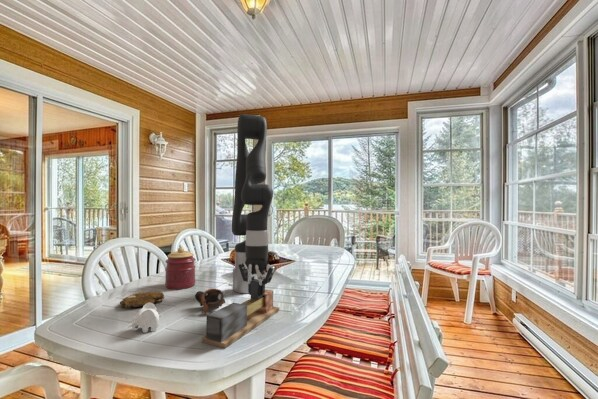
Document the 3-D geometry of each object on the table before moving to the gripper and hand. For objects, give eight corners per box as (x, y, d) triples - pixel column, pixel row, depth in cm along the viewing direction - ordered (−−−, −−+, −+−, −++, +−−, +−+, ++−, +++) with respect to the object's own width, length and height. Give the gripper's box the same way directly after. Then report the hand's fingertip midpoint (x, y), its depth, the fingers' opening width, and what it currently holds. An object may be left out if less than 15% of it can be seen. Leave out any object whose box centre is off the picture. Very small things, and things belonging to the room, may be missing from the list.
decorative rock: (160, 297, 122) (117, 306, 113) (159, 287, 122) (117, 295, 113) (168, 302, 114) (124, 313, 104) (168, 292, 114) (123, 301, 104)
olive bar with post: (237, 321, 87) (237, 291, 88) (228, 320, 89) (229, 289, 89) (267, 303, 103) (267, 277, 103) (260, 302, 105) (260, 276, 105)
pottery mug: (229, 305, 112) (230, 290, 108) (216, 325, 104) (217, 309, 100) (201, 295, 114) (201, 280, 110) (186, 314, 106) (185, 298, 102)
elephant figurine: (129, 327, 91) (129, 304, 91) (163, 322, 95) (163, 300, 95) (126, 338, 84) (126, 312, 84) (163, 332, 88) (163, 308, 88)
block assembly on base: (225, 348, 79) (225, 319, 79) (202, 342, 82) (202, 314, 82) (279, 310, 106) (279, 289, 106) (260, 307, 109) (260, 286, 109)
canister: (159, 286, 136) (160, 247, 136) (186, 280, 146) (186, 244, 146) (173, 291, 127) (173, 250, 128) (200, 285, 137) (201, 247, 137)
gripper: (232, 243, 99) (232, 295, 99) (269, 246, 93) (269, 301, 93) (245, 241, 106) (245, 289, 106) (280, 243, 100) (280, 294, 100)
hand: (256, 294), depth 100 cm, fingers closed on olive bar with post, 3 cm apart
